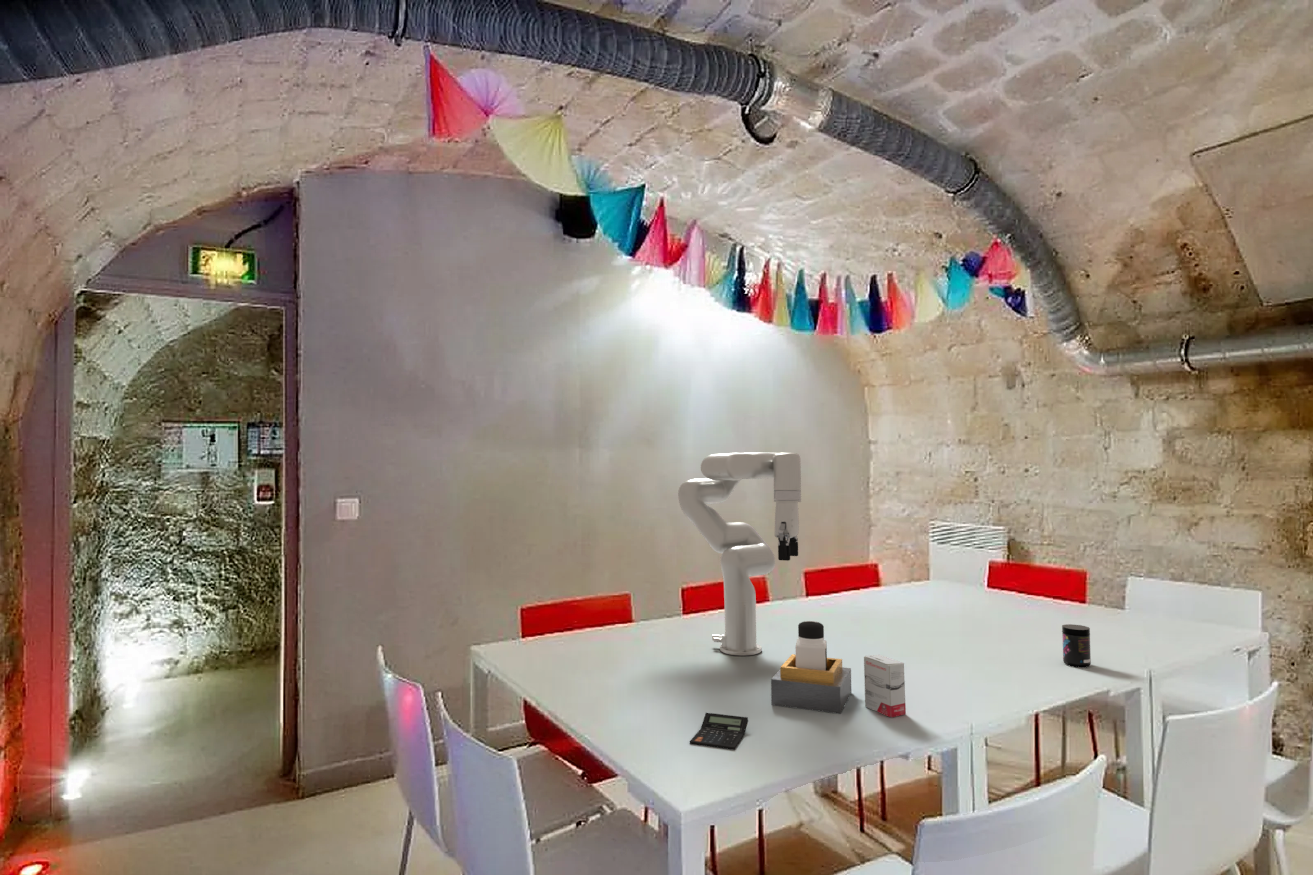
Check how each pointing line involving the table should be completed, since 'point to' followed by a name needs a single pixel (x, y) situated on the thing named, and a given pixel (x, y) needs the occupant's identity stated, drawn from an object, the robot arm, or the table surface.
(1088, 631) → the supplement container
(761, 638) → the table surface
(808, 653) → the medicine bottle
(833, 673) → the drawer box
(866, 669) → the ink box
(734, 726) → the calculator
